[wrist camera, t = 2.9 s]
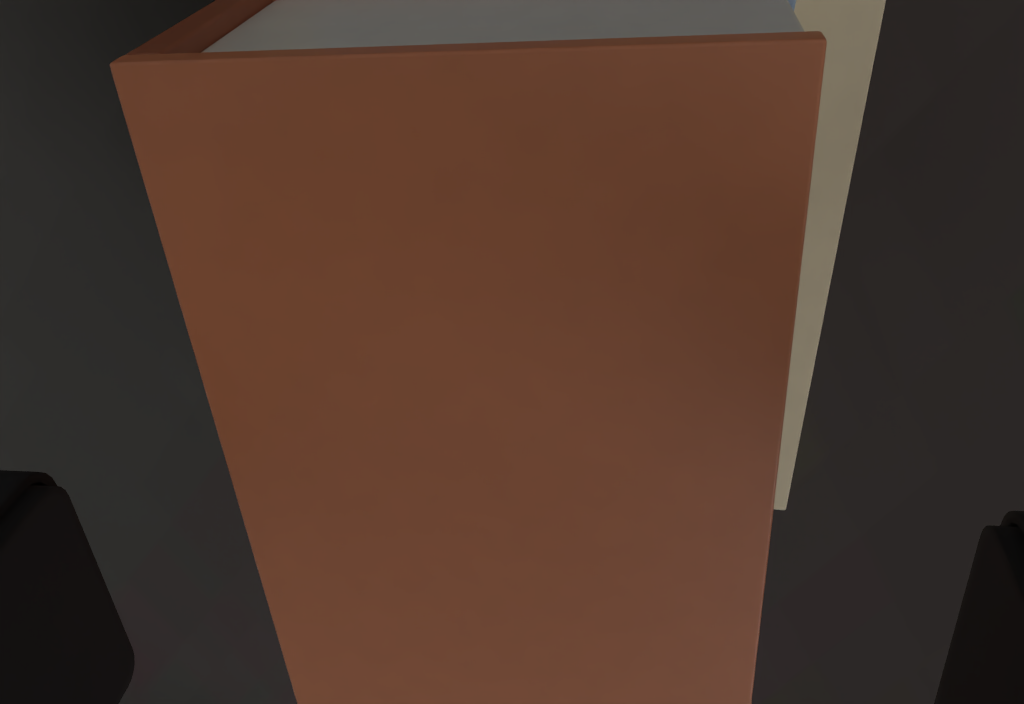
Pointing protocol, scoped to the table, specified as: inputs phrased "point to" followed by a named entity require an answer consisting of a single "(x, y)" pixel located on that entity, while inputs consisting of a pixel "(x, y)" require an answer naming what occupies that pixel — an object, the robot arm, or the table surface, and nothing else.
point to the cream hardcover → (826, 190)
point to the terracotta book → (492, 327)
